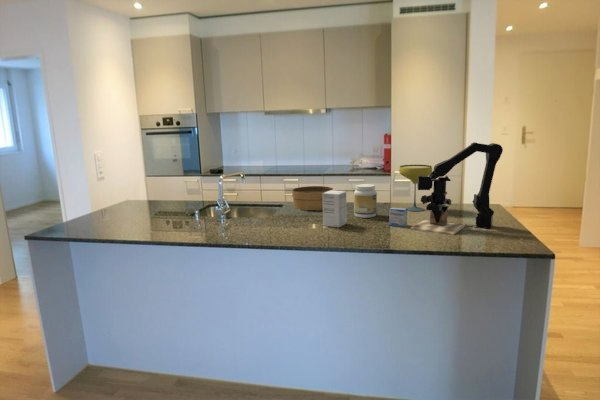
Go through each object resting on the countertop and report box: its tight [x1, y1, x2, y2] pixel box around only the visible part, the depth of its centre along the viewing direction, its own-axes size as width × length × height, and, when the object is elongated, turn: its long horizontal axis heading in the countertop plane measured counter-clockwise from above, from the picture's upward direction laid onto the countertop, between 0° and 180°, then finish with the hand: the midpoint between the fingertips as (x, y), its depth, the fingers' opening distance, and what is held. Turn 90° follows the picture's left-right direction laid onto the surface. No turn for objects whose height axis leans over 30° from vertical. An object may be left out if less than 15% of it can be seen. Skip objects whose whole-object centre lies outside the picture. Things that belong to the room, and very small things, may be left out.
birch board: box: [410, 219, 466, 236], centre depth 202 cm, size 20×18×1 cm
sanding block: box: [429, 210, 448, 226], centre depth 205 cm, size 7×4×6 cm, turn 54°
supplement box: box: [322, 189, 348, 228], centre depth 212 cm, size 10×9×17 cm
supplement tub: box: [353, 183, 378, 219], centre depth 230 cm, size 12×12×17 cm
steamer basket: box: [291, 185, 334, 211], centre depth 259 cm, size 25×25×11 cm
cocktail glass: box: [398, 164, 433, 213], centre depth 241 cm, size 18×18×25 cm
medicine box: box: [388, 207, 408, 228], centre depth 208 cm, size 8×4×9 cm, turn 62°
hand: (438, 221), depth 205 cm, fingers closed on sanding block, 4 cm apart
